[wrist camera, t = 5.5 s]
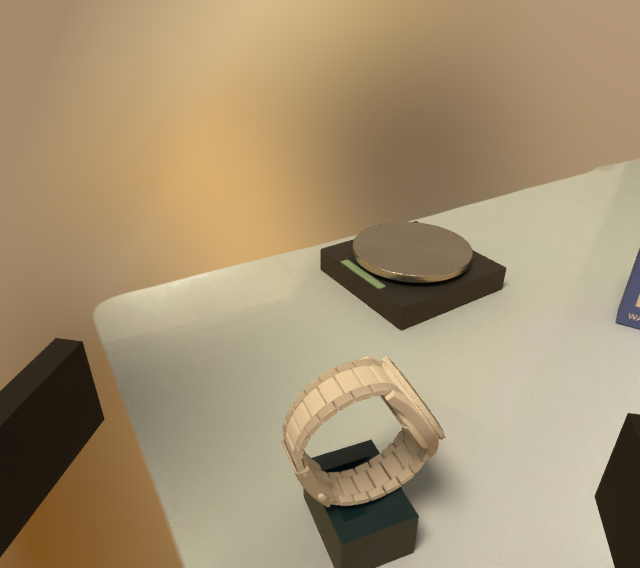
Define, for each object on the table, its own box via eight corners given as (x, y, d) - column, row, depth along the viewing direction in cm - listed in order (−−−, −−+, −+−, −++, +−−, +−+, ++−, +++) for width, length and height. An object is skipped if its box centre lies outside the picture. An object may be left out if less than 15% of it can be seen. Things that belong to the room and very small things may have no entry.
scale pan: (404, 296, 46) (405, 288, 45) (329, 245, 54) (329, 238, 54) (497, 261, 51) (498, 254, 51) (416, 219, 60) (416, 213, 59)
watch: (443, 540, 30) (474, 391, 24) (307, 593, 27) (306, 440, 21) (395, 464, 34) (411, 323, 28) (275, 504, 32) (266, 358, 26)
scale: (401, 330, 47) (403, 306, 45) (320, 269, 56) (320, 247, 55) (502, 288, 53) (507, 266, 51) (414, 239, 62) (416, 219, 61)
